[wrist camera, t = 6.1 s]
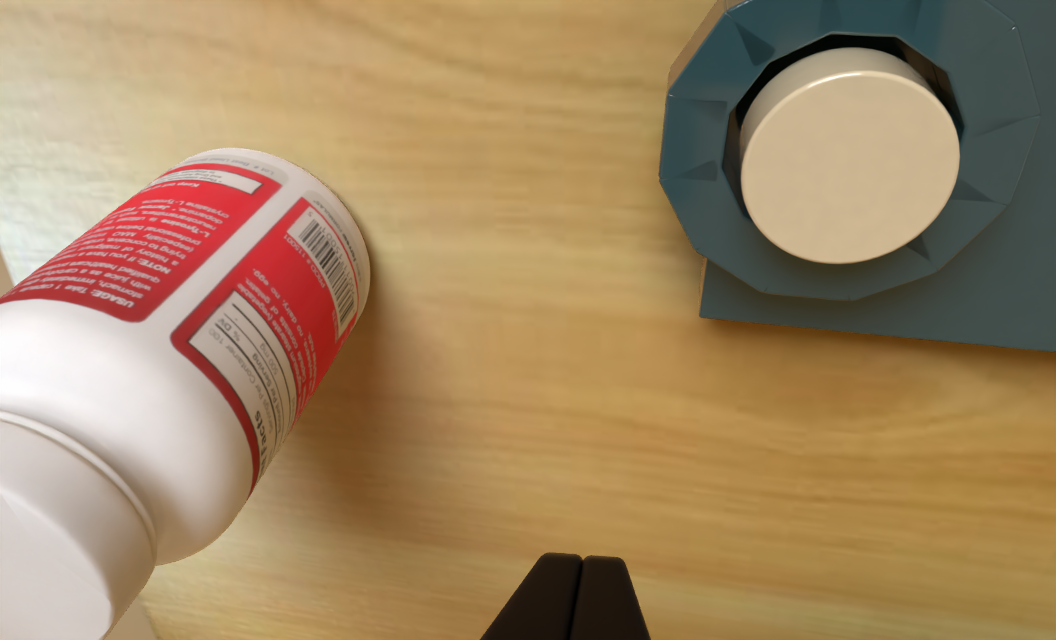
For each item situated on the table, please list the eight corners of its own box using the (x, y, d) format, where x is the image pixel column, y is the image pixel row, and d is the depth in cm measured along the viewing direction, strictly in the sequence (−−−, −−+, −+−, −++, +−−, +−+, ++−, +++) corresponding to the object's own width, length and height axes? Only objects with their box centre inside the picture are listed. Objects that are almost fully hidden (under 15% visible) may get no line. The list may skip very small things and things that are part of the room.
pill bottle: (128, 254, 24) (-235, 559, 14) (213, 90, 20) (-187, 349, 11) (313, 378, 25) (87, 728, 16) (420, 242, 22) (213, 585, 13)
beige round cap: (726, 220, 17) (728, 256, 16) (752, 40, 15) (757, 65, 14) (911, 235, 16) (929, 274, 15) (965, 51, 14) (990, 77, 13)
